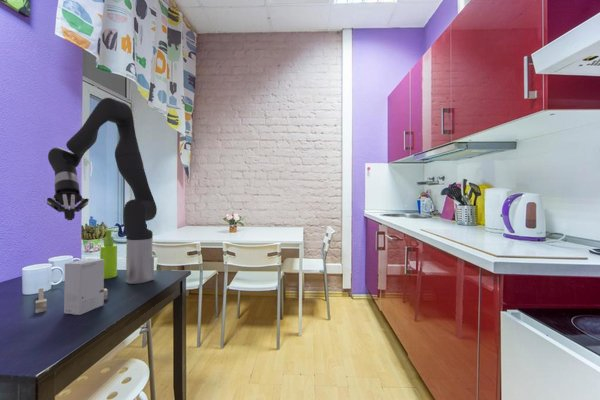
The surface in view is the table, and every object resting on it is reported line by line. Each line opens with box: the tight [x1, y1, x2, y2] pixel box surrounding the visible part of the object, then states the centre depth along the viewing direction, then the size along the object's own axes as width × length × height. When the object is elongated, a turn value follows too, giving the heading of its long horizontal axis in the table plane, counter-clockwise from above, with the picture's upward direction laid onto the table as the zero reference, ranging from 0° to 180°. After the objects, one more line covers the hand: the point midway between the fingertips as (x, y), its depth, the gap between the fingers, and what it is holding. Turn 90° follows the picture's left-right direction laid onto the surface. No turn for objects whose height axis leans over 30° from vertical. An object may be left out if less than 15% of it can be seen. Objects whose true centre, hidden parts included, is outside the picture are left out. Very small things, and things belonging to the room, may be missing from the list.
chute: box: [35, 288, 109, 314], centre depth 95 cm, size 18×18×3 cm
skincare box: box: [63, 258, 105, 316], centre depth 86 cm, size 8×6×15 cm
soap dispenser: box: [99, 228, 120, 280], centre depth 120 cm, size 6×7×20 cm
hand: (70, 218), depth 104 cm, fingers closed
